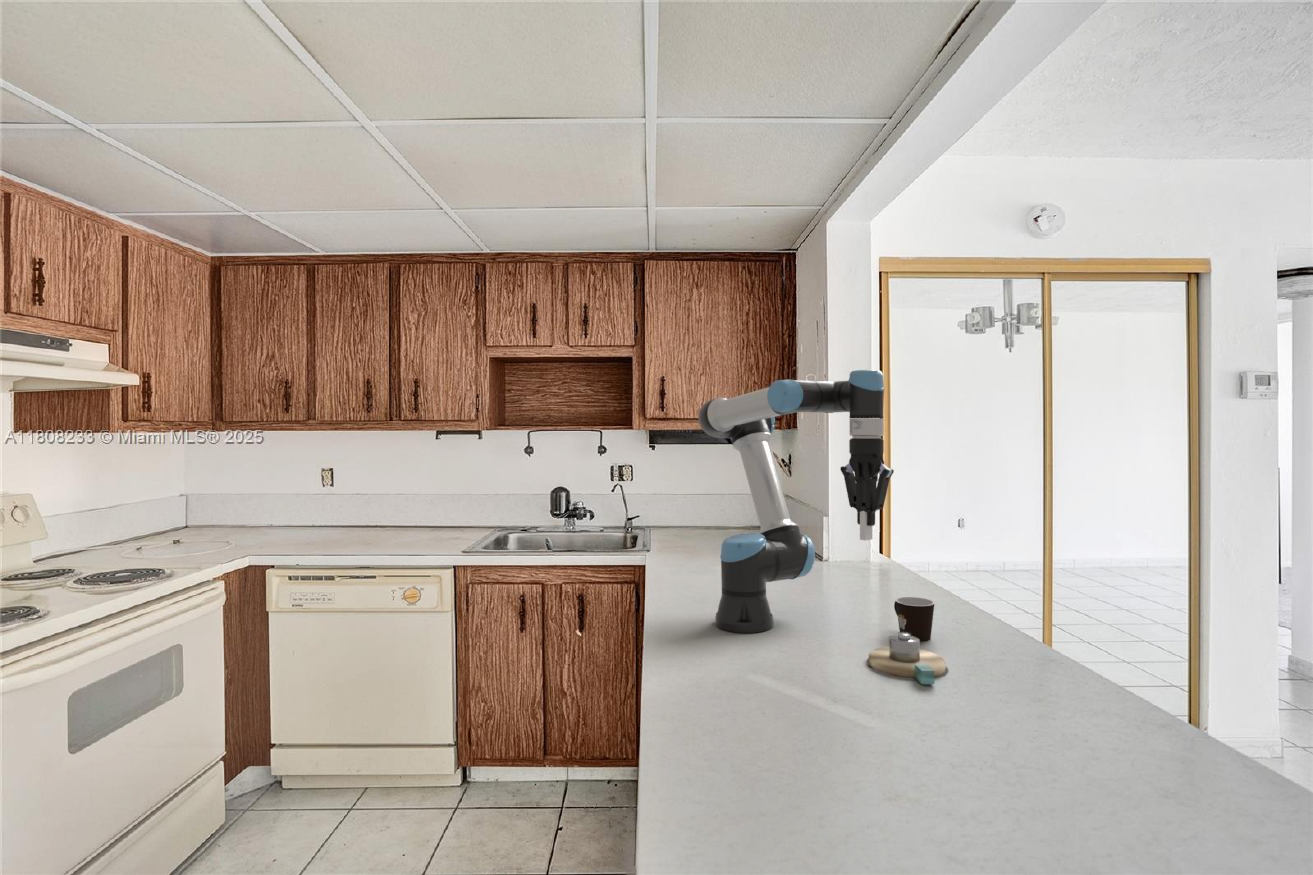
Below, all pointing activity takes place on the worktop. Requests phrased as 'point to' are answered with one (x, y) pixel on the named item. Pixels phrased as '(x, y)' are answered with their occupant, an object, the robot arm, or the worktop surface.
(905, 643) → the cover
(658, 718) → the worktop surface
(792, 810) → the worktop surface
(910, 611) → the coffee mug
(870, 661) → the platter
